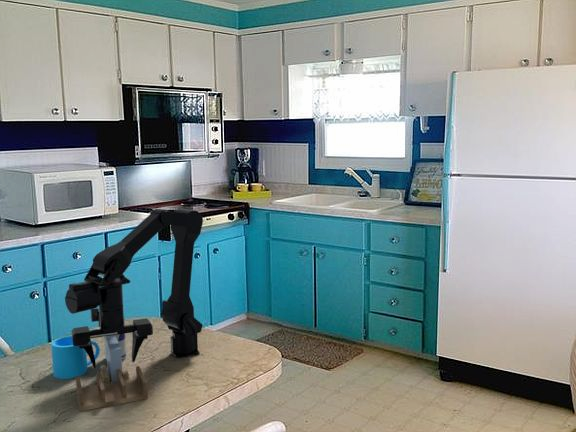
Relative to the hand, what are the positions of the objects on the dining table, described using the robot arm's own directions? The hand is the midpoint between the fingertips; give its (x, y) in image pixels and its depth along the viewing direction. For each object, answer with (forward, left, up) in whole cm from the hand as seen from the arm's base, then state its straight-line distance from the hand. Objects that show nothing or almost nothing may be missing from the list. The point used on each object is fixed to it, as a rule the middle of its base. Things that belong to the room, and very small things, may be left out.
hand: (114, 364), depth 147 cm
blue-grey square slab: (0, 0, -3) cm, 3 cm away
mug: (+8, -9, -4) cm, 13 cm away
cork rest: (0, 0, -3) cm, 3 cm away
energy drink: (-2, -13, -4) cm, 14 cm away
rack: (+2, +10, -3) cm, 11 cm away
